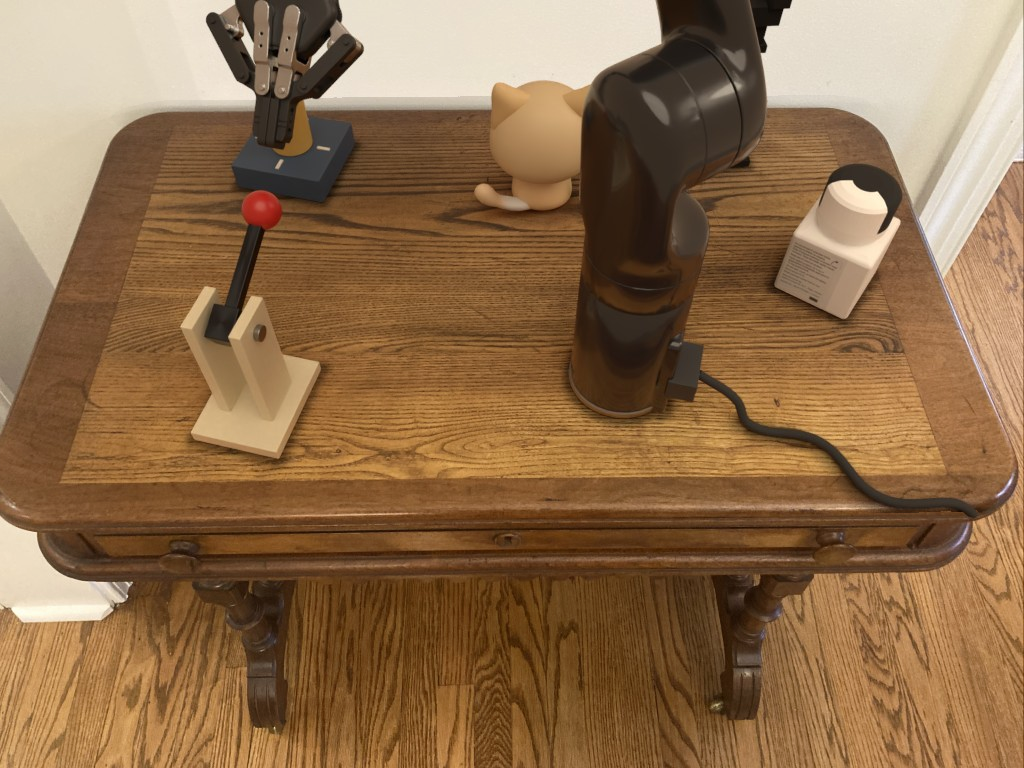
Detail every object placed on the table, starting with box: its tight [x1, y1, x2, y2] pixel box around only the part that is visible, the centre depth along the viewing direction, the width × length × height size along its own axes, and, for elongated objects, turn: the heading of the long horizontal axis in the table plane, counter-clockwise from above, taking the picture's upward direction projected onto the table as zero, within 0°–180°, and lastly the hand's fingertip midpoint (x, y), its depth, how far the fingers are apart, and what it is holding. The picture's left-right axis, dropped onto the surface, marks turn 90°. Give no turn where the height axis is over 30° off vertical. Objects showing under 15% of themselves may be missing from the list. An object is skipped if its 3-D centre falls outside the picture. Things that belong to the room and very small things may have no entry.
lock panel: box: [230, 115, 356, 203], centre depth 95 cm, size 10×10×3 cm
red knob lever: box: [204, 190, 283, 347], centre depth 69 cm, size 13×3×3 cm, turn 166°
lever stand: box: [179, 285, 322, 460], centre depth 72 cm, size 10×8×13 cm
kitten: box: [474, 79, 591, 212], centre depth 87 cm, size 15×10×15 cm, turn 89°
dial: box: [273, 100, 313, 156], centre depth 91 cm, size 4×4×6 cm
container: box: [774, 163, 903, 320], centre depth 81 cm, size 8×8×13 cm
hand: (271, 147), depth 69 cm, fingers closed
